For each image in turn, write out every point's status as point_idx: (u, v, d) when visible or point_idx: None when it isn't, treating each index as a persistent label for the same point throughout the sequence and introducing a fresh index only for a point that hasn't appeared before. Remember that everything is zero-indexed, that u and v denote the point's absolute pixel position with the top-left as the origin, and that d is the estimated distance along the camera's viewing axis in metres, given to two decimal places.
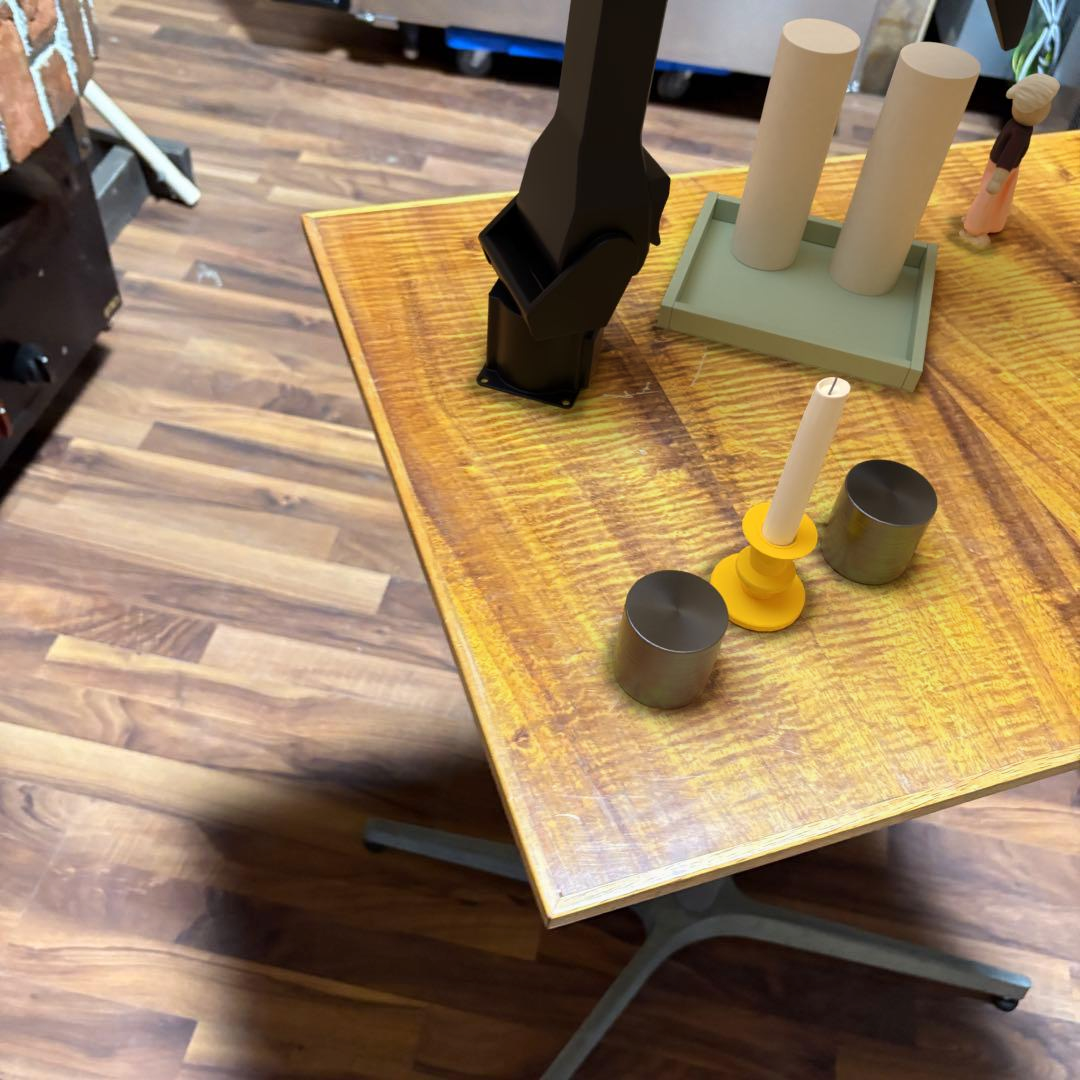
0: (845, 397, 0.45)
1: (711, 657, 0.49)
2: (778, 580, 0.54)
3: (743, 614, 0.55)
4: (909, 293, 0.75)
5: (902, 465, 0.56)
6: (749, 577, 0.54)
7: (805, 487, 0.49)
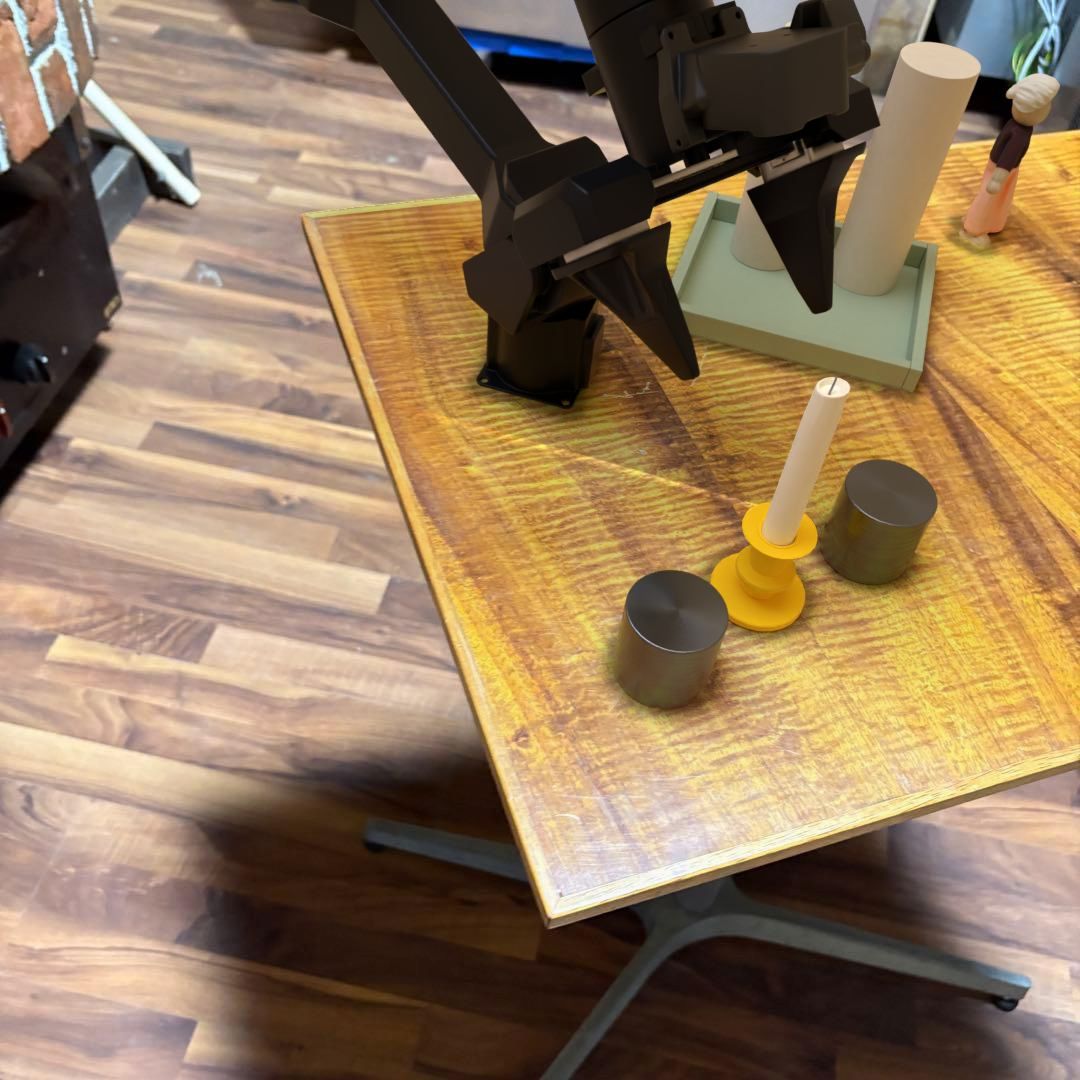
0: (845, 397, 0.45)
1: (711, 657, 0.49)
2: (778, 580, 0.54)
3: (743, 614, 0.55)
4: (909, 293, 0.75)
5: (902, 465, 0.56)
6: (748, 577, 0.54)
7: (805, 487, 0.49)
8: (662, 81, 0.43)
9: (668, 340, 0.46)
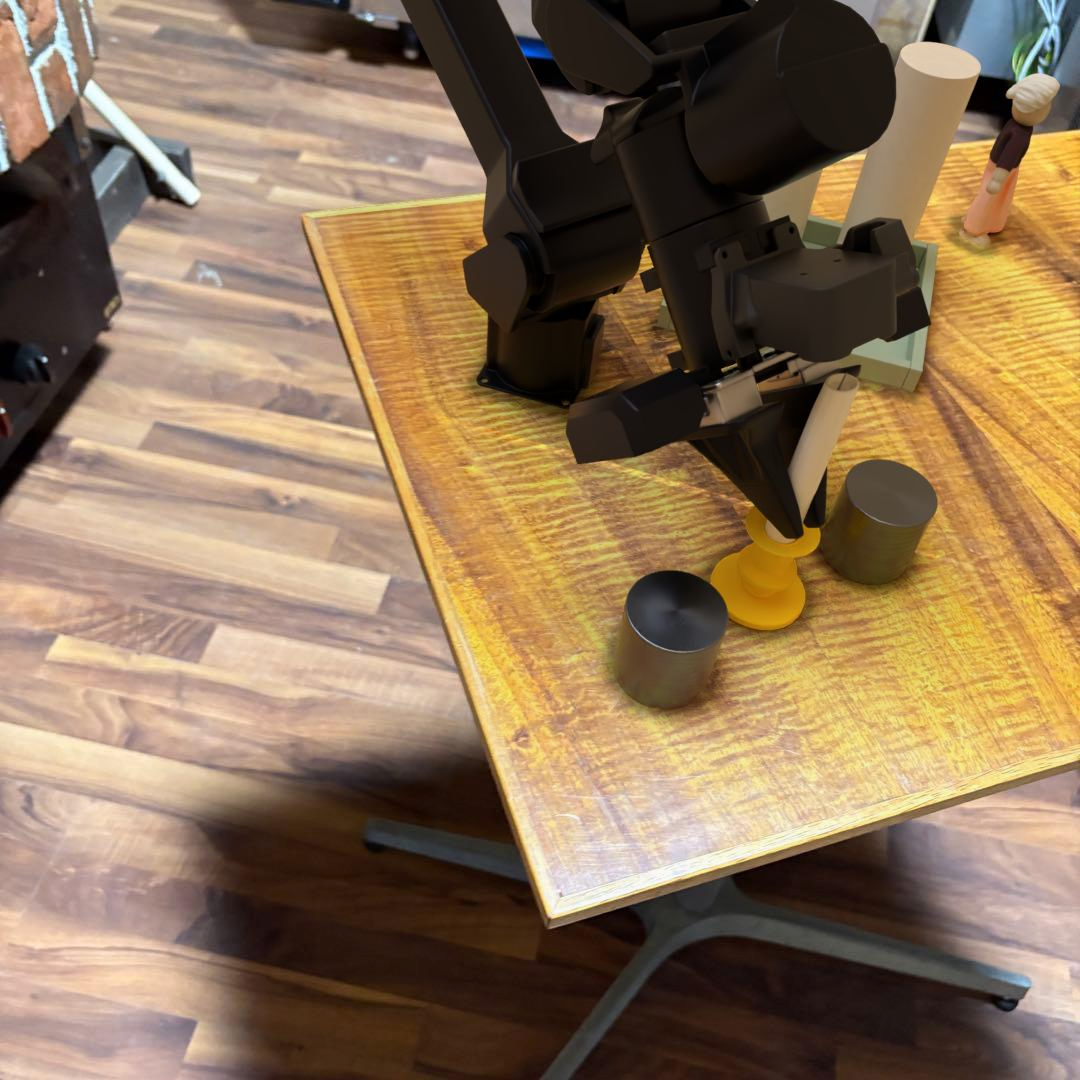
0: (854, 393, 0.45)
1: (711, 657, 0.49)
2: (780, 578, 0.54)
3: (744, 612, 0.55)
4: None
5: (902, 465, 0.56)
6: (750, 575, 0.54)
7: (811, 483, 0.49)
8: (715, 296, 0.45)
9: (775, 503, 0.49)
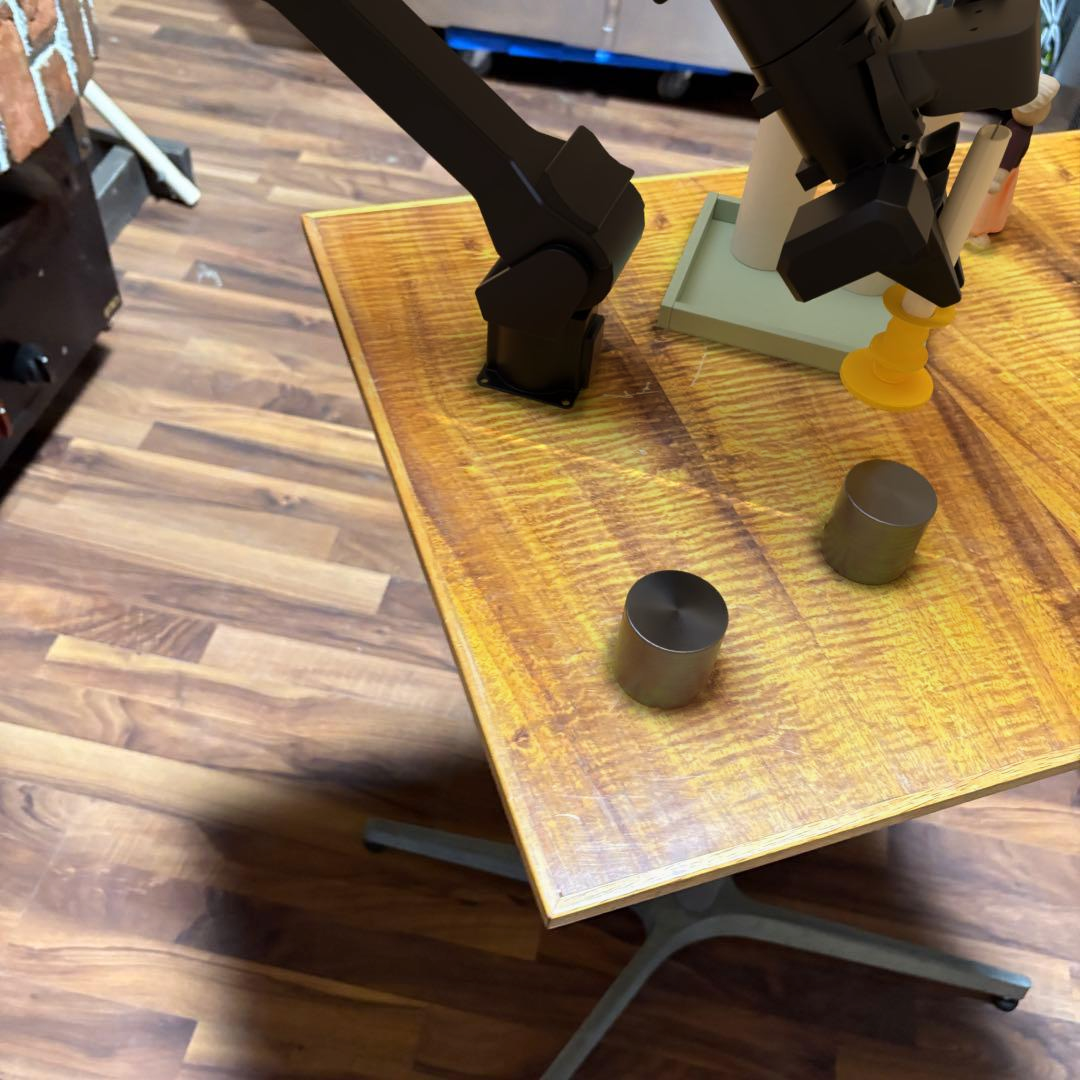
0: None
1: (711, 657, 0.49)
2: (921, 354, 0.56)
3: (901, 400, 0.56)
4: None
5: (902, 465, 0.56)
6: (900, 363, 0.55)
7: (962, 245, 0.51)
8: (880, 84, 0.44)
9: (940, 275, 0.51)
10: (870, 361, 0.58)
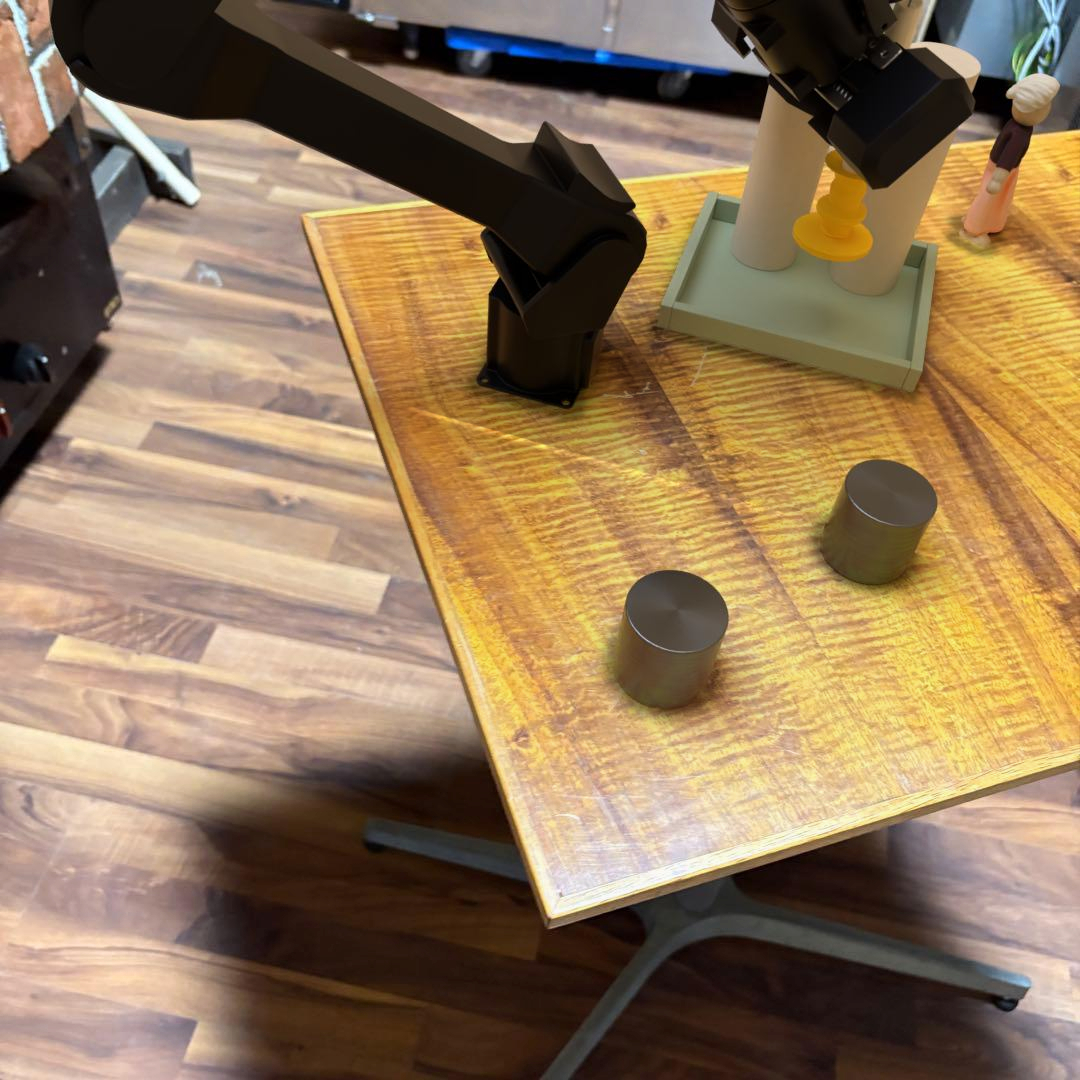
0: None
1: (711, 657, 0.49)
2: (860, 203, 0.66)
3: (862, 246, 0.66)
4: (909, 293, 0.75)
5: (902, 465, 0.56)
6: (857, 216, 0.65)
7: None
8: None
9: None
10: (813, 228, 0.67)
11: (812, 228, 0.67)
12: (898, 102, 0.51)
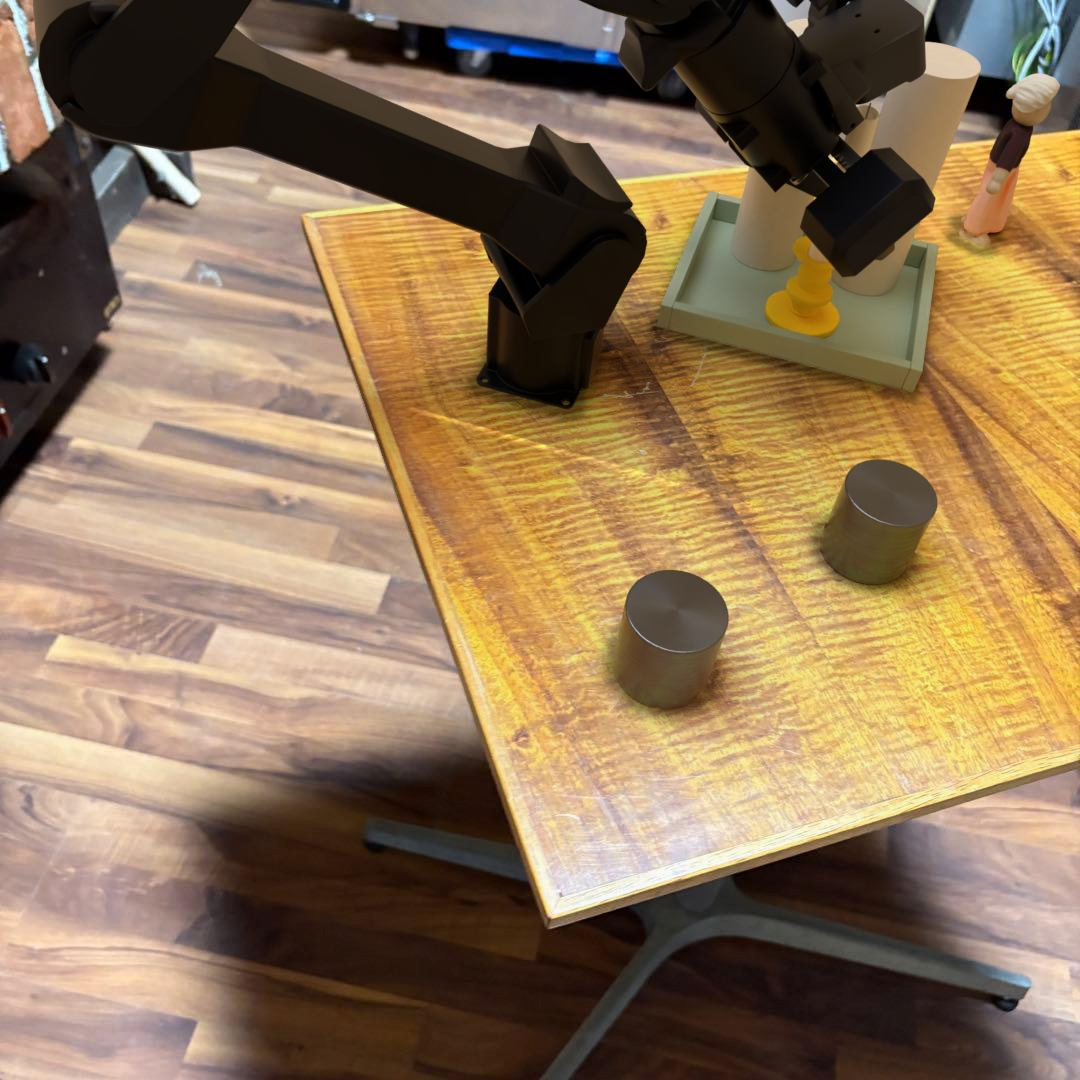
0: (870, 110, 0.61)
1: (711, 657, 0.49)
2: None
3: (833, 316, 0.72)
4: (909, 293, 0.75)
5: (902, 465, 0.56)
6: (829, 294, 0.70)
7: None
8: (833, 94, 0.55)
9: None
10: (786, 312, 0.71)
11: (785, 313, 0.71)
12: (863, 200, 0.55)
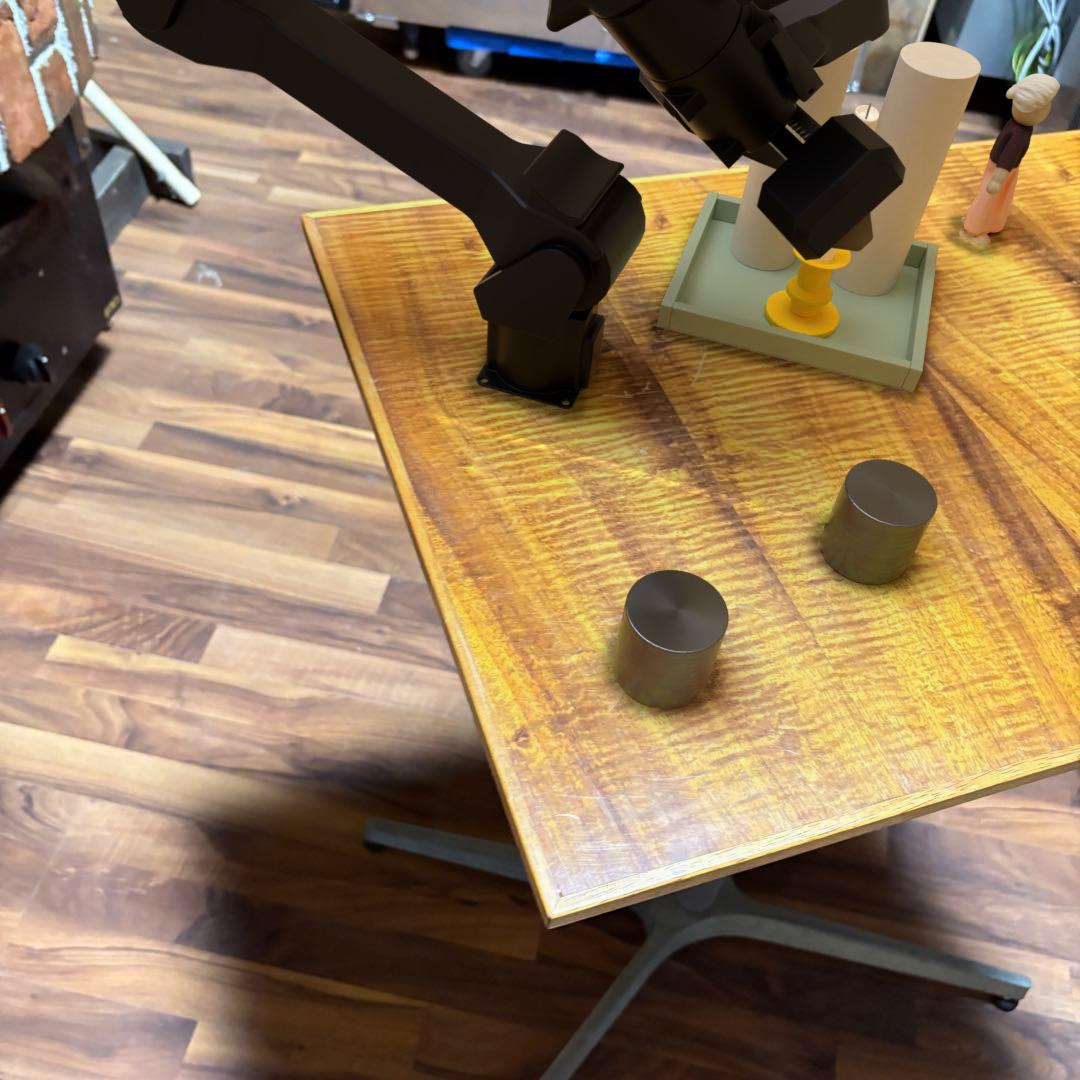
0: None
1: (711, 657, 0.49)
2: None
3: (833, 316, 0.72)
4: (909, 293, 0.75)
5: (902, 465, 0.56)
6: (829, 294, 0.70)
7: None
8: (787, 55, 0.50)
9: (864, 227, 0.56)
10: (786, 312, 0.71)
11: (785, 313, 0.71)
12: (826, 173, 0.49)
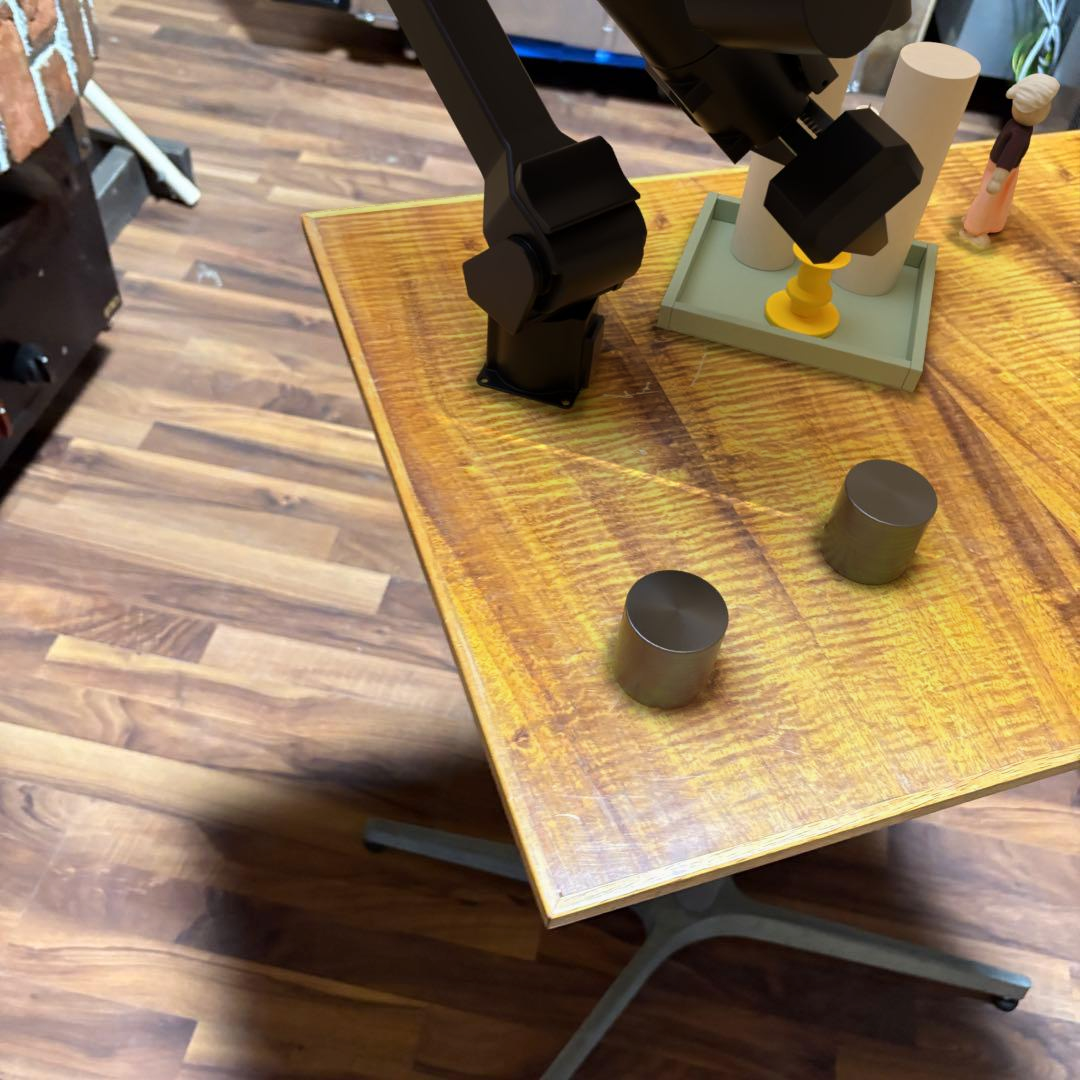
0: None
1: (711, 657, 0.49)
2: None
3: (833, 316, 0.72)
4: (909, 293, 0.75)
5: (902, 465, 0.56)
6: (829, 294, 0.70)
7: None
8: None
9: (878, 230, 0.53)
10: (786, 312, 0.71)
11: (785, 313, 0.71)
12: (837, 171, 0.45)
